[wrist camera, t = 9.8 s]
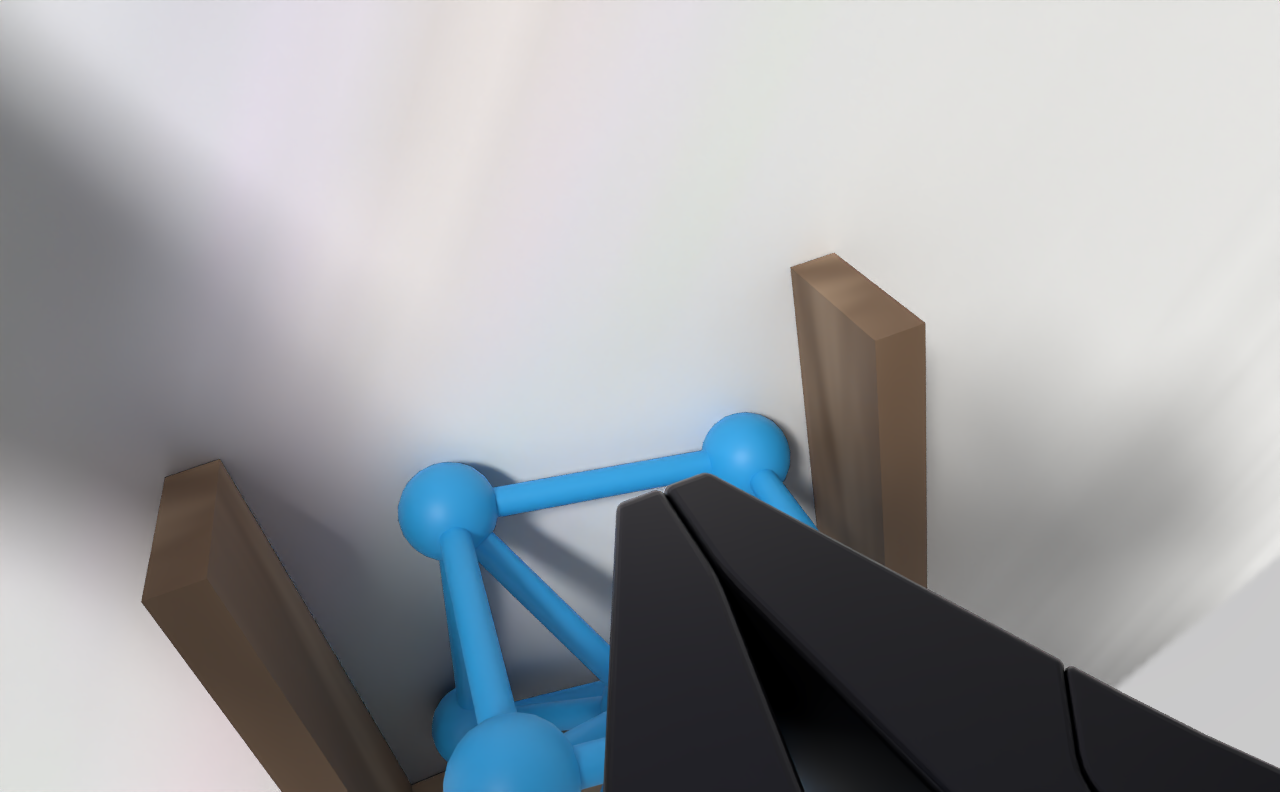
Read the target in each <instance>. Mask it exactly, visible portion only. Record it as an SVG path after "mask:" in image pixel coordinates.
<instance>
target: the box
mask: <svg viewBox="0 0 1280 792" xmlns="http://www.w3.org/2000/svg"><path fill="white" fill-rule="evenodd" d="M791 276H792V286H793V296H794V306H795V316H796V326H797V335H798V345H799V355H800V365H801V375H802V385H803V394H804V404H805V414H806V424H807V434H808V443H809V453H810V463H811V473H812V483H813V493H814V502H815V512H816V522H817V529H818V530H819V531H820V532H822V533H823V534H825V535H827V536H829V537H831V538H833V539H835V540H837V541H838V542H840V543H842V544H844V545H846V546H848V547H850V548H852V549H853V550H855V551H857V552H859V553H861V554H863V555H865V556H867V557H868V558H870V559H872V560H874V561H876V562H878V563H880V564H882V565H883V566H885V567H887V568H889V569H891V570H893V571H895V572H897V573H898V574H900V575H902V576H904V577H906V578H908V579H910V580H912V581H913V582H915V583H917V584H919V585H921V586H923V587H925V588H927V508H926V348H925V322H923V321H922V320H921V319H919V318H918V317H917V316H916V315H914V314H913V313H912V312H910V311H909V310H908V309H906V308H905V307H904V306H903V305H901V304H900V303H899V302H897V301H896V300H895V299H894V298H892V297H891V296H890V295H888V294H887V293H886V292H884V291H883V290H882V289H881V288H879V287H878V286H877V285H875V284H874V283H873V282H872V281H870V280H869V279H868V278H866V277H865V276H864V275H862V274H861V273H860V272H859V271H857V270H856V269H855V268H853V267H852V266H851V265H849V264H848V263H847V262H846V261H844V260H843V259H842V258H840V257H839V256H838V255H837V254H835V253H832V254H829V255H826V256H823V257H820V258H817V259H814V260H811V261H808V262H805V263H802V264H799V265H796V266H793V267H791ZM141 602H142V603H143V605H144V606H145V608H146V609H147V610H148V612H149V613H150V614H151V616H152V617H153V618H154V620H155V621H156V622H157V624H158V625H159V626H160V628H161V629H162V631H163V632H164V633H165V635H166V636H167V637H168V639H169V640H170V641H171V643H172V644H173V645H174V647H175V648H176V649H177V651H178V652H179V654H180V655H181V656H182V658H183V659H184V660H185V662H186V663H187V664H188V666H189V667H190V668H191V670H192V671H193V672H194V674H195V675H196V677H197V678H198V679H199V681H200V682H201V683H202V685H203V686H204V687H205V689H206V690H207V691H208V693H209V694H210V695H211V697H212V698H213V700H214V701H215V702H216V704H217V705H218V706H219V708H220V709H221V710H222V712H223V713H224V714H225V716H226V717H227V718H228V720H229V721H230V723H231V724H232V725H233V727H234V728H235V729H236V731H237V732H238V733H239V735H240V736H241V737H242V739H243V740H244V741H245V743H246V744H247V746H248V747H249V748H250V750H251V751H252V752H253V754H254V755H255V756H256V758H257V759H258V760H259V762H260V763H261V764H262V766H263V767H264V769H265V770H266V771H267V773H268V774H269V775H270V777H271V778H272V779H273V781H274V782H275V783H276V785H277V786H278V787H279V789H280V790H281V792H443V781H444V776H445V772H446V771H445V772H443V773H440V774H438V775H435V776H433V777H430V778H428V779H425V780H423V781H420V782H418V783H415V784H413V785H411V784H410V782H409V780H408V778H407V777H406V775H405V773H404V772H403V770H402V768H401V767H400V765H399V763H398V761H397V760H396V758H395V756H394V755H393V753H392V751H391V750H390V748H389V746H388V744H387V743H386V741H385V739H384V738H383V736H382V734H381V733H380V731H379V729H378V727H377V726H376V724H375V722H374V721H373V719H372V717H371V716H370V714H369V712H368V710H367V709H366V707H365V705H364V704H363V702H362V700H361V698H360V697H359V695H358V693H357V692H356V690H355V688H354V687H353V685H352V683H351V681H350V680H349V678H348V676H347V675H346V673H345V671H344V670H343V668H342V666H341V664H340V663H339V661H338V659H337V658H336V656H335V654H334V653H333V651H332V649H331V647H330V646H329V644H328V642H327V641H326V639H325V637H324V636H323V634H322V632H321V630H320V629H319V627H318V625H317V624H316V622H315V620H314V618H313V617H312V615H311V613H310V612H309V610H308V608H307V607H306V605H305V603H304V601H303V600H302V598H301V596H300V595H299V593H298V591H297V590H296V588H295V586H294V584H293V583H292V581H291V579H290V578H289V576H288V574H287V573H286V571H285V569H284V567H283V566H282V564H281V562H280V561H279V559H278V557H277V556H276V554H275V552H274V550H273V549H272V547H271V545H270V544H269V542H268V540H267V539H266V537H265V535H264V533H263V532H262V530H261V528H260V527H259V525H258V523H257V521H256V520H255V518H254V516H253V515H252V513H251V511H250V510H249V508H248V506H247V504H246V503H245V501H244V499H243V498H242V496H241V494H240V493H239V491H238V489H237V487H236V486H235V484H234V482H233V481H232V479H231V477H230V476H229V474H228V472H227V470H226V469H225V467H224V465H223V464H222V462H221V460H220V459H219V460H216V461H213V462H210V463H207V464H204V465H201V466H198V467H195V468H192V469H189V470H186V471H183V472H180V473H177V474H174V475H171V476H168V477H165V480H164V486H163V491H162V496H161V501H160V506H159V512H158V517H157V522H156V527H155V533H154V538H153V543H152V548H151V554H150V559H149V564H148V569H147V575H146V580H145V585H144V590H143V596H142V601H141ZM567 731H569V730H565V731H561V732H563V733H565V732H567ZM602 785H603V784H600V785H597V786H593V787H590V788H586V789H582V790H581V792H600V790H601V788H602Z"/></svg>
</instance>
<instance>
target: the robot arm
mask: <svg viewBox="0 0 1280 792" xmlns="http://www.w3.org/2000/svg"><path fill="white" fill-rule="evenodd" d="M603 792H1280V768H1278V767H1275V766H1274V765H1271V764H1269V763H1267V762H1265V761H1262V760H1260V759H1258V758H1256V757H1254V756H1251V755H1249V754H1247V753H1245V752H1243V751H1240V750H1238V749H1236V748H1234V747H1232V746H1229V745H1227V744H1225V743H1223V742H1221V741H1218V740H1216V739H1214V738H1212V737H1210V736H1207V735H1205V734H1203V733H1201V732H1199V731H1197V730H1195V729H1193V728H1191V727H1190V726H1187V725H1185V724H1184V723H1182V722H1179V721H1178V720H1176V719H1174V718H1172V717H1170V716H1168V715H1166V714H1164V713H1162V712H1160V711H1158V710H1156V709H1154V708H1152V707H1150V706H1148V705H1146V704H1144V703H1142V702H1140V701H1138V700H1136V699H1134V698H1132V697H1130V696H1128V695H1126V694H1124V693H1122V692H1120V691H1118V690H1117V689H1115V688H1113V687H1111V686H1109V685H1107V684H1105V683H1103V682H1102V681H1100V680H1098V679H1096V678H1094V677H1092V676H1090V675H1088V674H1087V673H1085V672H1083V671H1081V670H1079V669H1077V668H1075V667H1072V666H1070V667H1068V668H1066V669H1065V672H1064V666H1063V663H1062V661H1061V660H1059V659H1058V658H1056V657H1054V656H1052V655H1050V654H1048V653H1046V652H1045V651H1043V650H1041V649H1039V648H1037V647H1035V646H1033V645H1031V644H1030V643H1028V642H1026V641H1024V640H1022V639H1020V638H1018V637H1016V636H1015V635H1013V634H1011V633H1009V632H1007V631H1005V630H1003V629H1001V628H1000V627H998V626H996V625H994V624H992V623H990V622H988V621H986V620H985V619H983V618H981V617H979V616H977V615H975V614H973V613H971V612H970V611H968V610H966V609H964V608H962V607H960V606H958V605H956V604H955V603H953V602H951V601H949V600H947V599H945V598H943V597H941V596H940V595H938V594H936V593H934V592H932V591H930V590H928V589H927V588H925V587H923V586H921V585H919V584H917V583H915V582H913V581H912V580H910V579H908V578H906V577H904V576H902V575H900V574H898V573H897V572H895V571H893V570H891V569H889V568H887V567H885V566H883V565H882V564H880V563H878V562H876V561H874V560H872V559H870V558H868V557H867V556H865V555H863V554H861V553H859V552H857V551H855V550H853V549H852V548H850V547H848V546H846V545H844V544H842V543H840V542H838V541H837V540H835V539H833V538H831V537H829V536H827V535H825V534H823V533H822V532H820V531H818V530H816V529H814V528H812V527H810V526H808V525H807V524H805V523H803V522H801V521H799V520H797V519H795V518H794V517H792V516H790V515H788V514H786V513H784V512H782V511H780V510H779V509H777V508H775V507H773V506H771V505H769V504H767V503H765V502H764V501H762V500H760V499H758V498H756V497H754V496H752V495H750V494H749V493H747V492H745V491H743V490H741V489H739V488H737V487H735V486H734V485H732V484H730V483H728V482H726V481H724V480H722V479H720V478H719V477H717V476H715V475H713V474H709V473H701V474H698V475H695V476H692V477H690V478H687V479H684V480H681V481H679V482H676V483H673V484H670V485H669V486H668V487H667V488H666V489H665V492H664V493H663V492H661V491H657V490H655V491H651V492H649V493H646V494H643V495H640V496H638V497H635V498H632V499H629V500H627V501H624V502H622V503H620V505H619V506H618V508H617V511H616V528H615V549H614V571H613V592H612V613H611V634H610V655H609V676H608V697H607V718H606V739H605V760H604V781H603Z"/></svg>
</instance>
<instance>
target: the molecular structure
mask: <svg viewBox="0 0 1280 792" xmlns="http://www.w3.org/2000/svg"><path fill="white" fill-rule="evenodd" d="M789 467H790V448H789V444H788V441H787V439H786V437H785V435H784V433H783V431H782V430H781V429H780V428H779V427H778V426H777V425H776V424H775V423H774V422H773V421H772V420H770V419H768V418H766V417H764V416H762V415H760V414H754V413H748V412H744V413H736V414H732V415H729V416H726V417H724V418H723V419H721V420H720V421H719V422H717V423H716V424H715V425H714V426H713V427H712V428H711V429H710V431H709V432H708V434H707V435H706V437H705V440H704V442H703V446H702V450H701V451H696V452H690V453H684V454H679V455H673V456H667V457H662V458H656V459H651V460H645V461H639V462H634V463H628V464H622V465H617V466H611V467H606V468H600V469H594V470H589V471H583V472H577V473H572V474H566V475H561V476H555V477H549V478H544V479H538V480H532V481H527V482H521V483H516V484H510V485H504V486H499V487H492V486H491V484H490V483H489V481H488V480H487V479H486V477H485V476H484V475H482V474H481V473H480V472H478V471H477V470H476V469H474V468H473V467H471V466H468V465H465V464H462V463H454V462H443V463H438V464H433V465H431V466H429V467H427V468H425V469H423V470H421V471H419V472H418V473H417V474H416V475H415V476H414V477H413V478H412V479H411V480H410V481H409V482H408V483H407V485H406V487H405V488H404V490H403V492H402V496H401V499H400V502H399V505H398V521H399V524H400V527H401V530H402V532H403V535H404V537H405V538H406V539H407V541H408V542H409V543H410V545H411V546H412V547H413V548H414V549H416V550H417V551H418V552H420V553H421V554H423V555H425V556H427V557H430V558H433V559H436V560H439V563H440V571H441V578H442V586H443V594H444V601H445V609H446V617H447V625H448V632H449V640H450V648H451V656H452V663H453V671H454V679H455V686H456V688H454V689H453V690H451V691H450V692H448V693H447V694H446V695H445V696H444V697H443V699H442V700H441V701H440V702H439V704H438V706H437V708H436V710H435V712H434V716H433V720H432V738H433V740H434V743H435V746H436V749H437V750H438V752H439V753H440V755H441V756H442V757H443V758H444V759H445V760H446V761H447V762H448V763H447V767H446V772H445V776H444V781H443V792H581V790H582V789H586V788H590V787H593V786H597V785H600V784H603V781H604V760H605V739H606V718H607V697H608V676H609V655H610V645H609V644H608V643H607V642H606V641H605V640H604V639H603V638H602V637H601V636H599V635H598V634H597V633H596V632H595V631H594V630H593V629H592V628H591V627H590V626H589V625H588V624H587V623H586V622H585V621H584V620H583V619H582V618H581V617H580V616H579V615H578V614H577V613H576V612H575V611H574V610H573V609H572V608H571V607H570V606H569V605H568V604H567V603H565V602H564V601H563V600H562V599H561V598H560V597H559V596H558V595H557V594H556V593H555V592H554V591H553V590H552V589H551V588H550V587H549V586H548V585H547V584H546V583H545V582H544V581H543V580H542V579H541V578H540V577H539V576H538V575H537V574H536V573H535V572H534V571H533V570H531V569H530V568H529V567H528V566H527V565H526V564H525V563H524V562H523V561H522V560H521V559H520V558H519V557H518V556H517V555H516V554H515V553H514V552H513V551H512V550H511V549H510V548H509V547H508V546H507V545H506V544H505V543H504V542H503V541H502V540H501V539H500V538H499V537H497V536H496V535H495V534H494V533H493V530H494V528H495V527H496V522H497V517H503V516H508V515H513V514H519V513H524V512H530V511H535V510H540V509H546V508H551V507H556V506H562V505H567V504H572V503H578V502H583V501H588V500H594V499H599V498H604V497H610V496H615V495H620V494H626V493H631V492H636V491H642V490H647V489H652V488H658V487H663V486H668V485H670V484H673V483H676V482H679V481H681V480H684V479H687V478H690V477H692V476H695V475H698V474H701V473H709V474H713V475H715V476H717V477H719V478H720V479H722V480H724V481H726V482H728V483H730V484H732V485H734V486H735V487H737V488H739V489H741V490H743V491H745V492H747V493H749V494H750V495H752V496H754V497H756V498H758V499H760V500H762V501H764V502H765V503H767V504H769V505H771V506H773V507H775V508H777V509H779V510H780V511H782V512H784V513H786V514H788V515H790V516H792V517H794V518H795V519H797V520H799V521H801V522H803V523H805V524H807V525H808V526H810V527H812V528H814V529H816V530H818V529H817V527H816V526H815V525H814V523H813V522H812V521H811V520H810V518H809V517H808V516H807V514H806V513H805V512H804V510H803V509H802V508H801V506H800V505H799V504H798V502H797V501H796V500H795V498H794V497H793V496H792V494H791V493H790V492H789V490H788V489H787V488H786V487H785V485H784V484H783V481H784V480H785V478H786V475H787V473H788V470H789ZM818 531H819V530H818ZM478 562H479V563H480V564H481V565H482V566H483V567H484V568H485V569H486V570H487V571H488V572H489V573H490V574H491V575H492V576H493V577H495V578H496V579H497V580H498V581H499V582H500V583H501V584H502V585H503V586H504V587H505V588H506V589H507V590H508V591H509V592H510V593H511V594H512V595H513V596H514V597H515V598H516V599H517V600H518V601H519V602H520V603H521V604H522V605H523V606H524V607H525V608H526V609H527V610H529V611H530V612H531V613H532V614H533V615H534V616H535V617H536V618H537V619H538V620H539V621H540V622H541V623H542V624H543V625H544V626H545V627H546V628H547V629H548V630H549V631H550V632H551V633H552V634H553V635H554V636H555V637H556V638H557V639H558V640H559V641H560V642H561V643H563V644H564V645H565V646H566V647H567V648H568V649H569V650H570V651H571V652H572V653H573V654H574V655H575V656H576V657H577V658H578V659H579V660H580V661H581V662H582V663H583V664H584V665H585V666H586V667H587V668H588V669H589V670H590V671H591V672H592V673H593V674H594V675H595V676H597V677H598V678H599V679H600V681H596V682H592V683H588V684H584V685H580V686H576V687H572V688H567V689H563V690H559V691H555V692H551V693H547V694H543V695H539V696H535V697H531V698H526V699H522V700H518V701H514V699H513V695H512V691H511V687H510V683H509V679H508V676H507V672H506V668H505V664H504V660H503V656H502V652H501V649H500V645H499V641H498V637H497V633H496V629H495V625H494V622H493V618H492V614H491V610H490V606H489V602H488V598H487V595H486V591H485V587H484V583H483V579H482V575H481V571H480V567H479V564H478ZM565 730H569V731H567V732H565V733H563V732H561V731H565ZM600 792H603V785H602V788H601V790H600Z"/></svg>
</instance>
